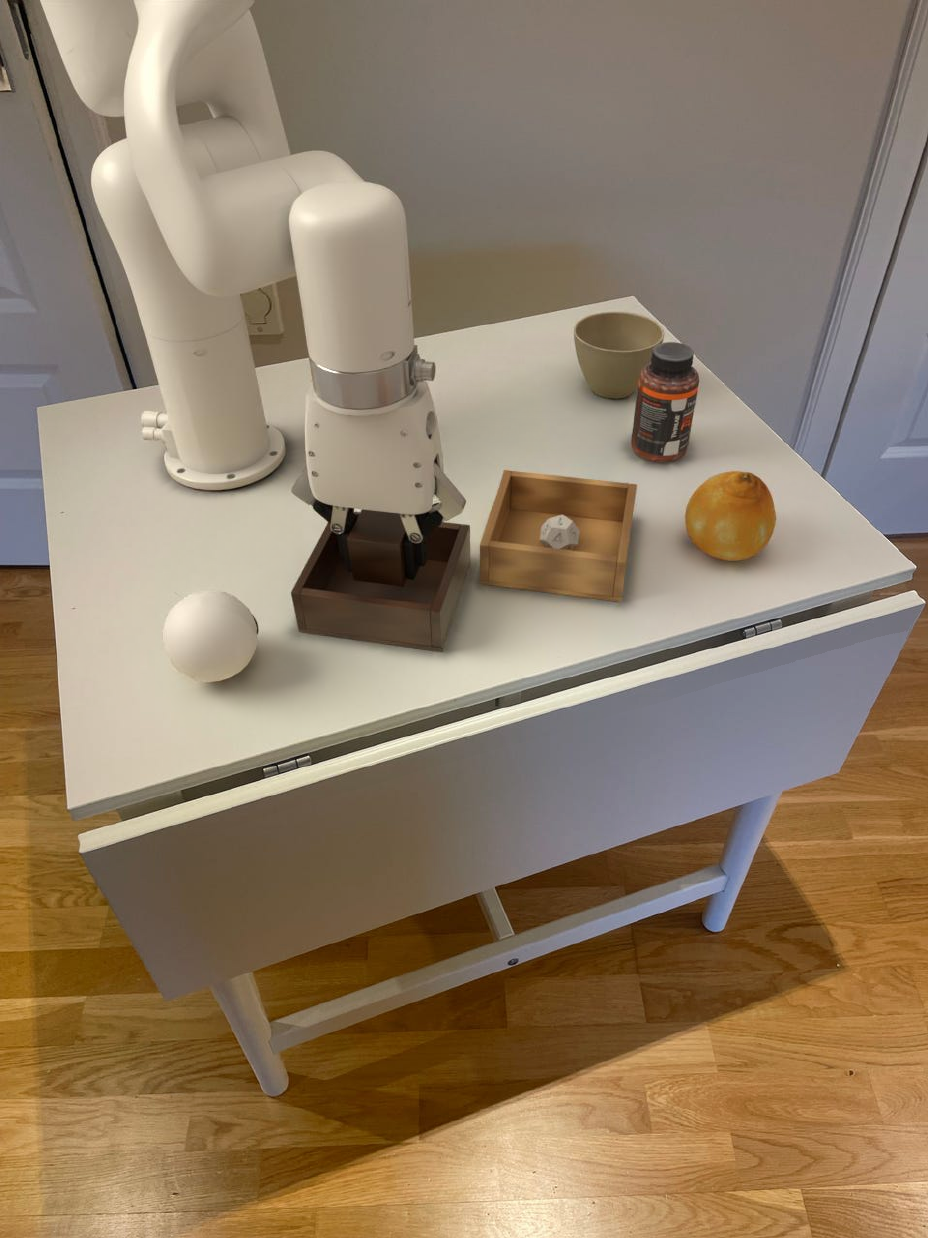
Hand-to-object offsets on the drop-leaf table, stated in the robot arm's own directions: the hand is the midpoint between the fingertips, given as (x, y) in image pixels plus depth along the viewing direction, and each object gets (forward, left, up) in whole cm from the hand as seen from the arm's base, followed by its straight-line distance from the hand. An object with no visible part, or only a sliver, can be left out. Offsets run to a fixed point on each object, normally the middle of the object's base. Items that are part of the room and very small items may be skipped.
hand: (385, 563), depth 78 cm
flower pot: (+16, +40, -4) cm, 43 cm away
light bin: (+14, +9, -4) cm, 17 cm away
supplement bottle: (+22, +28, -4) cm, 36 cm away
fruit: (+29, +13, -4) cm, 32 cm away
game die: (+14, +9, -4) cm, 17 cm away
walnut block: (0, 0, 0) cm, 0 cm away
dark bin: (0, 0, -4) cm, 4 cm away
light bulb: (-12, -10, -4) cm, 16 cm away
